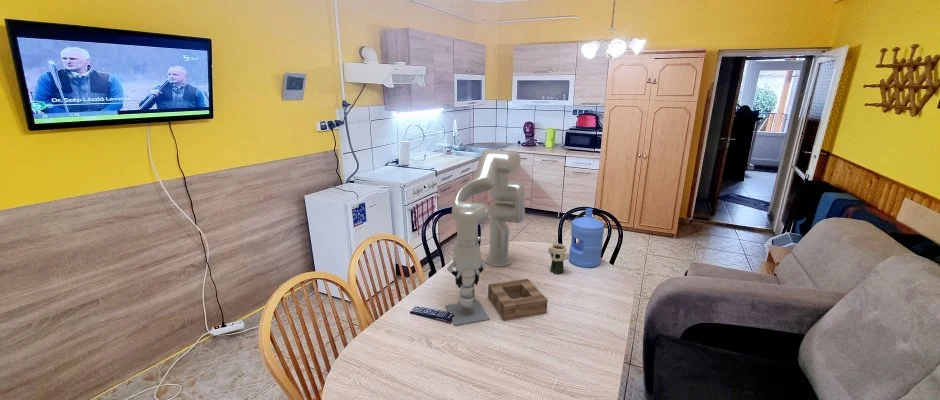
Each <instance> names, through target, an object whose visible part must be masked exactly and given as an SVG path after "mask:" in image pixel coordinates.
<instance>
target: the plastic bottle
mask: <svg viewBox="0 0 940 400" xmlns="http://www.w3.org/2000/svg"><path fill="white" fill-rule="evenodd" d="M475 276H476V271H475V270H472V269H468V270H466V271H462V272H461V274H460V278H461V287H460V288H459V296H458V303H459V305H460V306H461V307H462V308H464V309H471V308H473V307H474V306H475V303H476V300H477V299H476V293H475V292H476V291H475Z"/></svg>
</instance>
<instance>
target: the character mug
mask: <svg viewBox="0 0 940 400" xmlns="http://www.w3.org/2000/svg"><path fill="white" fill-rule="evenodd" d="M548 254H549V255H550V259H551V260H552V261H551V265H550V272H551V273H555V274H561V273H564V271H565V269H564V261H565V260H567V261H568V260H569V253H567V246H566V245H565V244H562V243H553V244H551V246H549V247H548Z"/></svg>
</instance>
